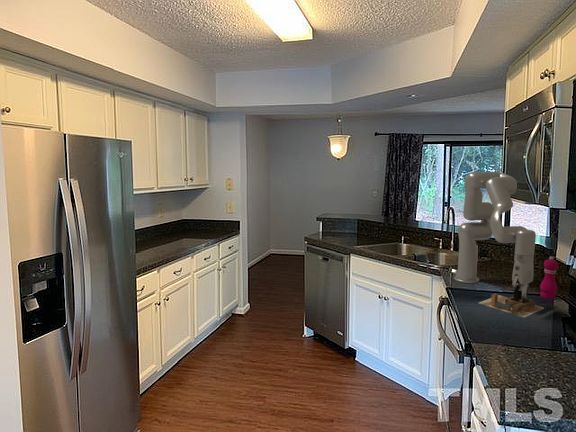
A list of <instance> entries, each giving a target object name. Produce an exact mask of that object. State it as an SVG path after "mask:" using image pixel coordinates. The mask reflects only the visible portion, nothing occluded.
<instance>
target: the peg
mask: <svg viewBox="0 0 576 432" xmlns="http://www.w3.org/2000/svg"><path fill="white" fill-rule="evenodd" d="M517 283H519V282H517ZM517 285H518V284H517ZM518 286H520V285H518ZM521 291H522V298H521V300H519V299H516V298H515V301H516V302H520V303H523V304H524V303H526V298H527V297H526V294H527V284H525V285H522V289H521ZM527 295H528V294H527Z"/></svg>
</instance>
